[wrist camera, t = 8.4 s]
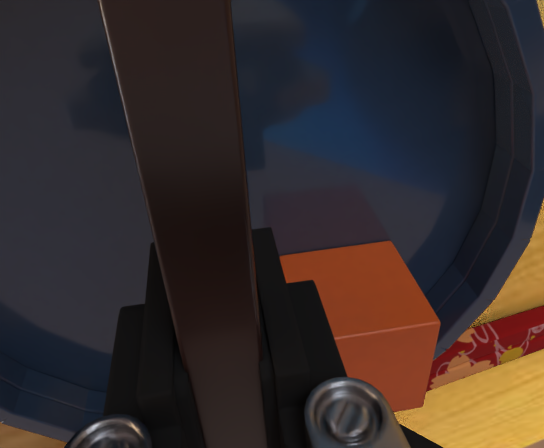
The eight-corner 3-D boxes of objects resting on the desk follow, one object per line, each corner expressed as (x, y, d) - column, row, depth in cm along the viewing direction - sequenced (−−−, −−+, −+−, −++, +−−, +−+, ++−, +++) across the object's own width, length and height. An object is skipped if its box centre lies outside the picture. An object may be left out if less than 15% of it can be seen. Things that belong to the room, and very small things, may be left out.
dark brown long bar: (-5, -559, 3) (-83, -755, 2) (170, -555, 3) (164, -736, 2) (242, 587, 15) (246, 637, 14) (281, 579, 15) (288, 628, 14)
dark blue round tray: (-394, -184, 8) (-567, -208, 6) (593, -224, 9) (690, -253, 8) (3, 430, 18) (-17, 491, 16) (450, 357, 19) (478, 404, 17)
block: (278, 254, 14) (302, 344, 11) (391, 238, 15) (442, 322, 12) (282, 335, 16) (304, 429, 13) (382, 319, 17) (423, 408, 14)
